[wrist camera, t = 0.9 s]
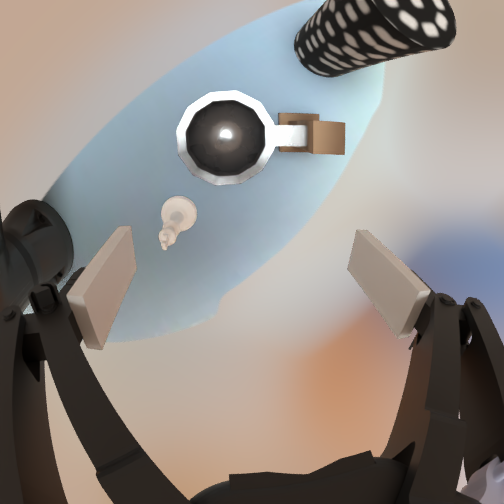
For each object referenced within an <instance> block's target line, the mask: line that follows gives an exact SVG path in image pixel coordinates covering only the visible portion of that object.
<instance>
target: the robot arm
mask: <svg viewBox="0 0 504 504" xmlns="http://www.w3.org/2000/svg"><path fill="white" fill-rule="evenodd" d="M72 261H73V246H72V241H71V237H70V234H69V232H68V229H67V227H66V225H65V223H64V222H63V220H62V219H61V217H60V216H59V215H58V213H57V212H56V211H55V210H54V209H53V208H52V207H50V206H49V205H48V204H46V203H44V202H42V201H39V200H27V201H24V202H22V203H21V204H19V205H18V206H16V207H14V208H13V209H12V211H10V213H9V214H8V216H7V217H6V218H5V220H4V221H3V223H2V219H1V213H0V504H68V502H67V499H66V497H65V493H64V490H63V487H62V483H61V480H60V476H59V472H58V468H57V464H56V460H55V455H54V451H53V445H52V440H51V435H50V428H49V421H48V413H47V403H46V392H45V371H44V360H47V362H48V365H49V368H50V371H51V374H52V377H53V380H54V383H55V385H56V388H57V391H58V393H59V396H60V398H61V401H62V403H63V406H64V408H65V410H66V413H67V415H68V417H69V419H70V421H71V423H72V426H73V428H74V430H75V432H76V434H77V436H78V438H79V439H80V441H81V443H82V445H83V447H84V449H85V451H86V453H87V454H88V456H89V458H90V460H91V461H92V463H93V465H94V467H95V468H96V471H97V472H96V476H97V479H98V481H99V483H100V484H101V486H102V488H103V489H104V490H105V492H106V493H107V495H108V496H109V498H110V499H111V500H112V502H113V503H114V504H504V345H503V343H502V341H501V339H500V337H499V334H498V332H497V330H496V328H495V326H494V324H493V322H492V320H491V318H490V316H489V314H488V312H487V310H486V308H485V306H484V305H483V303H481V302H480V300H477V298H472V297H468V298H467V299H466V301H465V303H464V305H457V304H456V301H455V300H454V299H453V298H451V297H450V296H449V295H446V294H443V293H437V294H436V293H435V292H434V291H433V290H432V289H431V288H430V287H429V286H428V285H427V284H426V283H425V282H423V280H422V279H421V278H419V276H418V275H417V274H416V273H415V272H414V271H412V270H411V269H409V268H408V267H407V266H406V265H405V264H404V263H403V262H402V261H400V259H398V258H397V257H396V256H395V255H394V254H393V253H392V252H391V251H390V250H389V249H387V247H385V246H384V245H383V244H382V243H381V242H380V241H379V240H378V239H376V238H375V237H374V236H373V235H372V234H371V233H370V232H368V231H367V230H356V234H355V239H354V243H353V248H352V252H351V256H350V260H349V264H348V268H347V269H348V271H349V272H350V273H351V275H352V276H353V277H354V279H355V280H356V281H357V282H358V284H359V285H360V287H361V288H362V289H363V291H364V292H365V293H366V295H367V296H368V297H369V299H370V300H371V302H372V303H373V305H374V306H375V307H376V308H377V310H378V312H379V313H380V314H381V316H382V317H383V319H384V320H385V322H386V323H387V325H388V326H389V327H390V329H391V330H392V332H393V333H394V335H395V336H396V338H397V339H401V338H406V337H409V335H410V334H411V332H412V330H413V328H415V329H416V330H417V334H416V337H415V338H414V340H413V342H412V343H411V346H410V347H409V350H411V348H412V347H413V350H412V355H411V361H410V366H409V370H408V375H407V379H406V384H405V388H404V392H403V395H402V400H401V403H400V407H399V410H398V413H397V417H396V420H395V423H394V426H393V430H392V432H391V435H390V438H389V441H388V444H387V446H386V448H385V450H384V452H383V453H382V455H381V456H380V457H373V456H372V453H371V451H370V450H369V451H366V452H363V453H360V454H357V455H353V456H349V457H345V458H342V459H339V460H337V461H335V462H333V463H331V464H329V465H327V466H325V467H323V468H321V469H319V470H317V471H314V472H312V473H310V474H304V475H303V474H286V473H285V474H284V473H273V472H260V473H247V474H229V481H225V482H221V483H219V484H215V485H213V486H211V487H209V488H206V489H205V490H203V491H201V492H199V493H198V494H197V495H195V496H194V497H193V498H191V499H190V500H187V498H186V497H184V495H183V494H182V493H181V492H180V491H179V490H178V489H177V488H176V487H175V486H174V485H173V484H172V483H171V482H170V481H169V480H168V479H167V477H166V476H165V475H163V473H162V472H161V471H160V469H159V468H158V467H157V466H156V465H155V463H154V462H153V461H152V460H151V459H150V457H149V456H148V455H147V454H146V452H145V451H144V450H143V449H142V448H141V446H140V445H139V444H138V442H137V441H136V440H135V438H134V437H133V435H132V434H131V433H130V431H129V430H128V428H127V427H126V425H125V424H124V423H123V421H122V420H121V418H120V416H119V415H118V413H117V412H116V410H115V409H114V407H113V406H112V404H111V402H110V401H109V399H108V397H107V396H106V394H105V392H104V391H103V389H102V387H101V385H100V384H99V382H98V380H97V378H96V377H95V375H94V373H93V371H92V369H91V367H90V365H89V363H88V361H87V359H86V357H85V355H84V353H83V351H82V349H81V347H80V343H81V341H82V339H83V340H84V342H85V344H86V347H87V348H90V349H97V350H102V349H103V347H104V344H105V342H106V339H107V336H108V334H109V331H110V329H111V326H112V324H113V322H114V319H115V317H116V314H117V312H118V310H119V307H120V305H121V303H122V300H123V298H124V296H125V294H126V291H127V289H128V287H129V285H130V283H131V281H132V278H133V276H134V274H135V272H136V270H137V266H136V260H135V253H134V246H133V238H132V230H131V226H119V227H118V228H117V229H116V230H115V231H114V233H113V234H112V235H111V236H110V237H109V239H108V240H107V241H106V242H105V244H104V245H103V246H102V247H101V249H100V250H99V251H98V252H97V254H96V255H95V256H94V258H93V259H92V260H91V262H90V263H89V264H88V266H87V267H81V268H80V269H78V270H77V271H76V272H74V273H73V275H72V276H71V277H70V279H69V280H68V281H67V283H66V285H64V287H63V288H62V289H61V291H60V292H59V293H58V290H57V287H56V285H57V284H58V283H60V282H61V281H62V280H63V278H64V277H65V276H66V275H67V274H68V272H69V270H70V268H71V266H72ZM29 303H31V306H32V308H33V310H34V313H32V314H25V315H23V312H24V310H25V309H26V307H27V306H28V305H29ZM471 335H472V339H471V342H470V344H469V343H468V340H469V338H470V337H471ZM459 412H460V419H459V418H458V415H459ZM463 458H464V468H465V475H466V480H467V484H468V485H466V486H465V487H463V488H462V490H461V493H460V492H458V491H456V488H457V484H458V480H459V476H460V471H461V466H462V460H463Z"/></svg>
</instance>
